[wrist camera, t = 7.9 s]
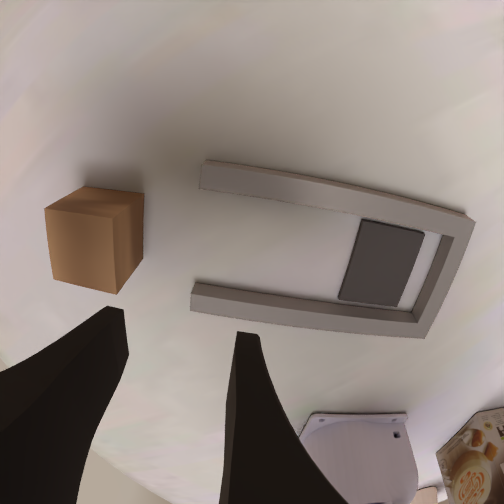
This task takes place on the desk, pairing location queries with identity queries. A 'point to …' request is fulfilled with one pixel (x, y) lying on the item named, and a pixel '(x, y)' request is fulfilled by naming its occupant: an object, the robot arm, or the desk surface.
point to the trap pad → (380, 263)
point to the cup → (425, 496)
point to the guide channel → (346, 201)
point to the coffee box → (475, 461)
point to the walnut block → (95, 237)
